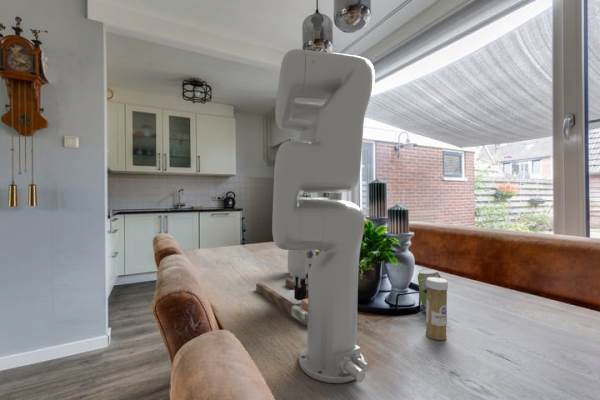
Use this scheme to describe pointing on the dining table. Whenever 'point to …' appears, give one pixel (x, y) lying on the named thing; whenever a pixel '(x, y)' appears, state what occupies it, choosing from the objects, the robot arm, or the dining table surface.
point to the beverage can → (422, 284)
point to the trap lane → (285, 301)
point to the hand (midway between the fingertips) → (300, 298)
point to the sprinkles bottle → (436, 308)
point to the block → (304, 304)
